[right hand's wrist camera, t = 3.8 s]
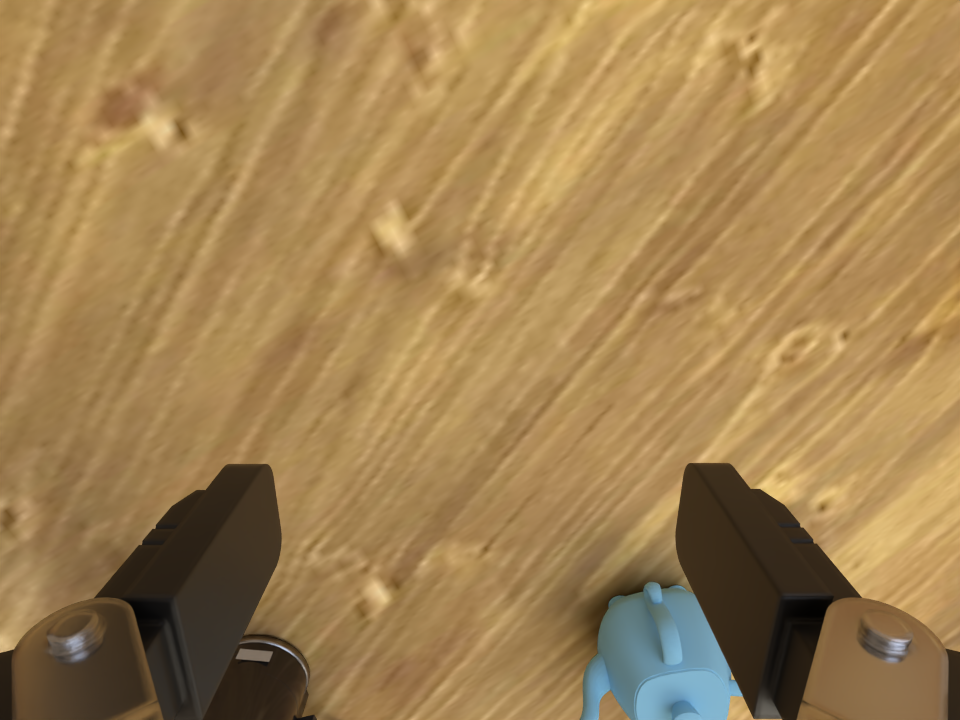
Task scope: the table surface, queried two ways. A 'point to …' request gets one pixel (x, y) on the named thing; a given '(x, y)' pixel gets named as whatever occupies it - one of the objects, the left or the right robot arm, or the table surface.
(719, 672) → the teapot
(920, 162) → the table surface
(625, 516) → the table surface
